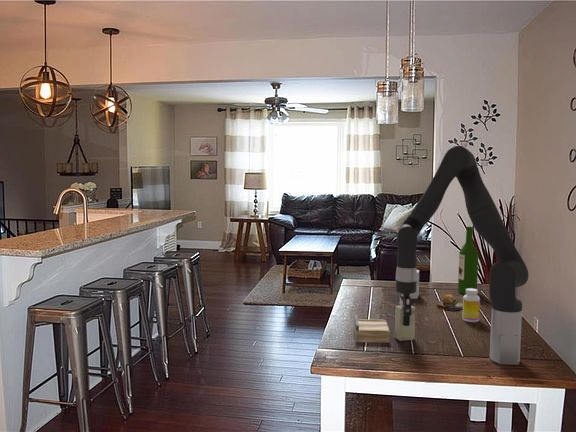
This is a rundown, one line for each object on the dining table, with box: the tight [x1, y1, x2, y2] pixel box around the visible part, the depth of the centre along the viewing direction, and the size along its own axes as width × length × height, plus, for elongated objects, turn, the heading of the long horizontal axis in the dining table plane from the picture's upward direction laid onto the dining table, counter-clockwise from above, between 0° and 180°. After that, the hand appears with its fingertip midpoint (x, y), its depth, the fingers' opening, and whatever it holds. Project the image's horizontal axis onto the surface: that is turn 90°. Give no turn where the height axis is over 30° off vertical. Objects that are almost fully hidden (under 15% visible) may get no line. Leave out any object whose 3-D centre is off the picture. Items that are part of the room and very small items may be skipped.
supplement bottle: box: [461, 288, 481, 323], centre depth 223 cm, size 7×7×13 cm
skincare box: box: [394, 304, 416, 342], centre depth 201 cm, size 6×4×12 cm
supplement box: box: [410, 269, 420, 300], centre depth 262 cm, size 7×7×13 cm
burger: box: [436, 292, 463, 312], centre depth 244 cm, size 12×12×8 cm
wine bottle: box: [457, 226, 479, 295], centre depth 268 cm, size 9×9×32 cm
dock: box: [353, 314, 391, 344], centre depth 204 cm, size 14×12×6 cm
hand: (404, 322), depth 201 cm, fingers open, 8 cm apart
